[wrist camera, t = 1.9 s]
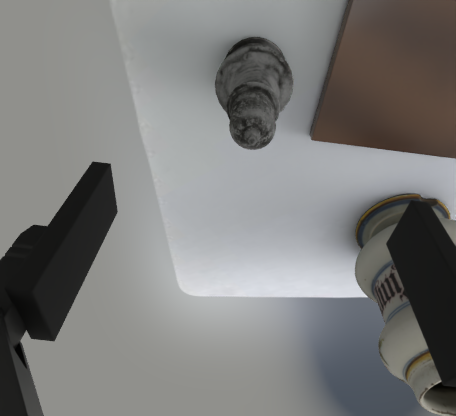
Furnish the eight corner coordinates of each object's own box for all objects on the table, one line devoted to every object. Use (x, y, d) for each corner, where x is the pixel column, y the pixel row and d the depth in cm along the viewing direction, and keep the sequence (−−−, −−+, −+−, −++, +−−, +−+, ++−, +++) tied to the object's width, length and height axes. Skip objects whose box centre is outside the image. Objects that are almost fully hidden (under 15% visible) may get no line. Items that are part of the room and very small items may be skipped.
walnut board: (403, -191, 19) (411, -197, 18) (651, -157, 19) (671, -160, 18) (309, 134, 32) (311, 140, 31) (457, 152, 32) (462, 159, 31)
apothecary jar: (485, 195, 35) (633, 374, 21) (424, 269, 42) (502, 435, 29) (371, 176, 34) (445, 346, 20) (330, 254, 42) (364, 416, 28)
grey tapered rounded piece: (261, 15, 26) (262, 67, 16) (303, 76, 28) (324, 151, 19) (204, 66, 28) (179, 135, 19) (248, 117, 31) (243, 199, 22)
